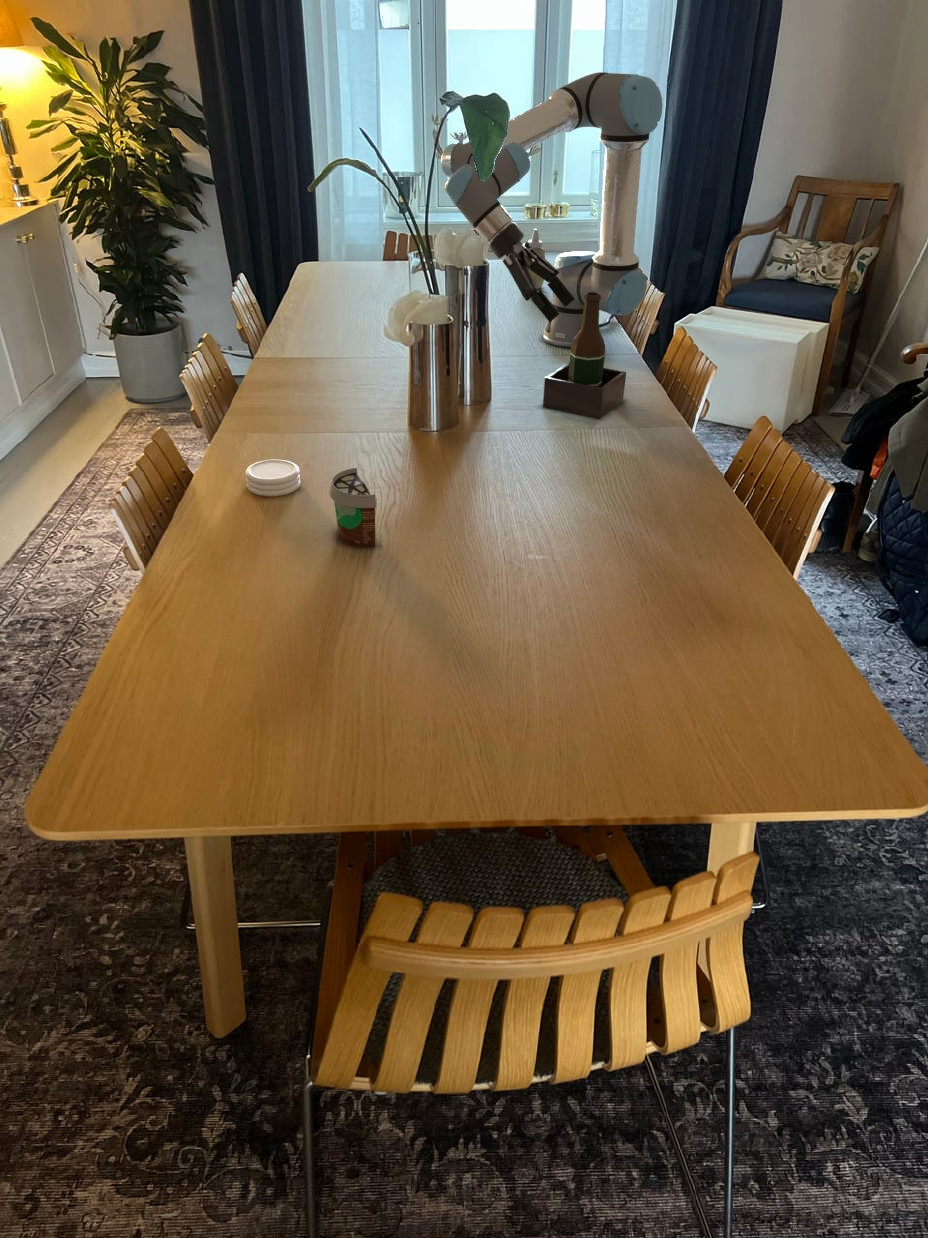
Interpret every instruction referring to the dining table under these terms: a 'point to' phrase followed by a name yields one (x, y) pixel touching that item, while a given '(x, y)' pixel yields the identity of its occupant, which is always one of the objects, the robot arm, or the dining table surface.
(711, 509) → the dining table surface
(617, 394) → the box
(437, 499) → the dining table surface
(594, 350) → the beer bottle
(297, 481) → the coaster
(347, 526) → the food container
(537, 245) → the squeeze bottle
